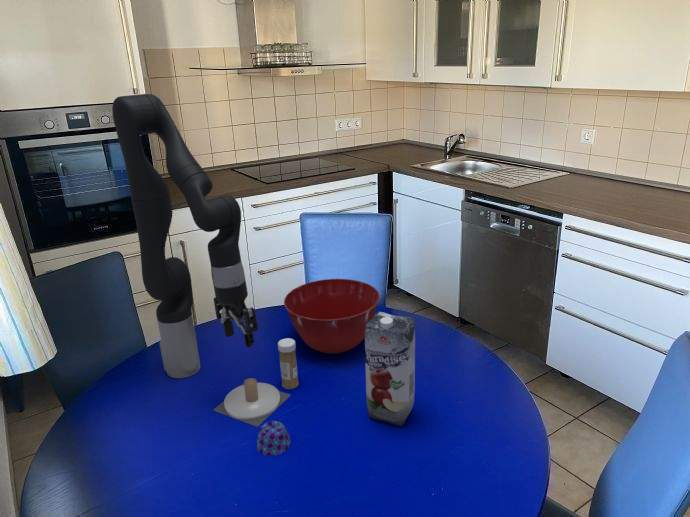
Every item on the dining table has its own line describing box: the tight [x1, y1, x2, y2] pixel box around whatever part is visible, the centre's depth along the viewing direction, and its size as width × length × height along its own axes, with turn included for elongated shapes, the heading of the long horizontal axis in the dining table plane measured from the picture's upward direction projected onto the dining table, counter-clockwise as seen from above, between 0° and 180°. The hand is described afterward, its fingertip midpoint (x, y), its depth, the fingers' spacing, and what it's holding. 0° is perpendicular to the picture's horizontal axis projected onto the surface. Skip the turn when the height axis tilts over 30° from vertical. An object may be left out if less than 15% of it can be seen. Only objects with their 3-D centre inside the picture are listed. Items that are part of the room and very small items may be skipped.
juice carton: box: [364, 311, 416, 427], centre depth 125 cm, size 9×10×27 cm
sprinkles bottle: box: [277, 337, 299, 390], centre depth 140 cm, size 5×5×14 cm
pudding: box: [256, 420, 292, 457], centre depth 120 cm, size 12×12×5 cm
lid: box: [223, 377, 280, 421], centre depth 135 cm, size 14×14×6 cm
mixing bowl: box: [283, 278, 381, 354], centre depth 161 cm, size 28×28×16 cm
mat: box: [212, 390, 292, 428], centre depth 136 cm, size 14×14×1 cm
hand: (239, 340), depth 131 cm, fingers open, 8 cm apart
